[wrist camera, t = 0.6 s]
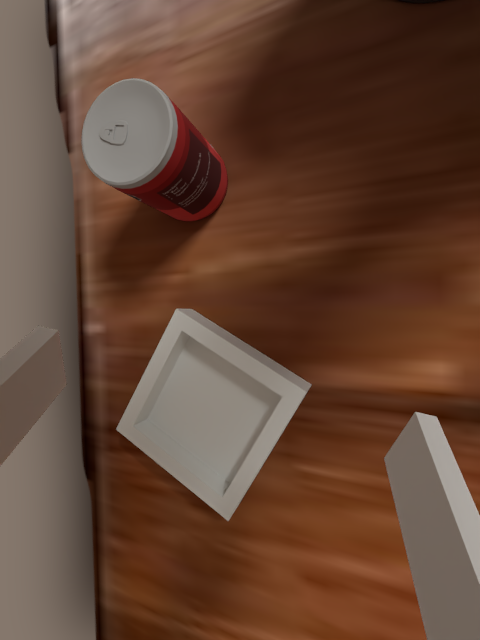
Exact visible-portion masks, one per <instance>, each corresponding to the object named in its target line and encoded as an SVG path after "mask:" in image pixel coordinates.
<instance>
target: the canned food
mask: <svg viewBox="0 0 480 640" xmlns="http://www.w3.org/2000/svg"><path fill="white" fill-rule="evenodd" d="M82 151H83V154H84V158H85V161H86V163H87V165H88V167H89V169H90V170H91V171H92V172H93V173H94V175H95V176H97V177H98V178H99V179H100V180H102V181H103V182H105V183H106V184H108V185H110V186H112V187H114V188H115V189H117V190H119V191H121V192H123V193H125V194H127V195H129V196H131V197H133V198H135V199H137V200H139V201H141V202H143V203H145V204H147V205H149V206H151V207H153V208H155V209H157V210H159V211H161V212H163V213H165V214H167V215H169V216H171V217H173V218H175V219H177V220H182V221H195V220H200V219H203V218H205V217H207V216H209V215H210V214H212V213H213V212H214V211H215V210H216V209H217V208H218V207H219V206H220V204H221V203H222V201H223V199H224V197H225V195H226V191H227V186H228V177H227V171H226V167H225V164H224V162H223V160H222V158H221V156H220V155H219V154H218V153H217V152H216V151H215V149H214V148H213V147H212V146H211V145H210V144H209V143H208V141H207V140H206V139H205V138H204V137H203V136H202V135H201V133H200V132H199V131H198V130H197V129H196V128H195V127H194V125H193V124H192V123H191V122H190V121H189V120H188V119H187V117H186V116H185V115H184V114H183V113H182V112H181V111H180V109H179V108H178V107H177V106H176V105H175V104H174V103H173V102H172V101H171V100H170V99H169V97H168V96H167V95H166V94H165V93H164V92H163V91H162V90H160V89H159V88H158V87H157V86H155V85H154V84H152V83H151V82H149V81H146V80H143V79H133V78H132V79H126V80H122V81H119V82H117V83H114V84H113V85H111V86H110V87H108V88H107V89H105V90H104V91H103V92H102V93H101V94H100V95H99V96H98V97H97V99H96V100H95V101H94V102H93V104H92V106H91V107H90V109H89V111H88V113H87V116H86V118H85V121H84V125H83V130H82Z"/></svg>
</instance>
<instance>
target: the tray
mask: <svg viewBox="0 0 480 640" xmlns="http://www.w3.org/2000/svg"><path fill="white" fill-rule="evenodd" d="M311 385H312V384H310V383H309V382H307V381H305V380H304V379H302V378H301V377H299V376H297V375H296V374H294V373H293V372H291V371H289V370H288V369H286V368H285V367H283V366H282V365H280V364H278V363H277V362H275V361H274V360H272V359H270V358H269V357H267V356H266V355H264V354H263V353H261V352H259V351H258V350H256V349H255V348H253V347H251V346H250V345H248V344H247V343H245V342H243V341H242V340H240V339H239V338H237V337H236V336H234V335H232V334H231V333H229V332H228V331H226V330H224V329H223V328H221V327H220V326H218V325H217V324H215V323H213V322H212V321H210V320H209V319H207V318H205V317H204V316H202V315H201V314H199V313H197V312H196V311H194V310H193V309H176V310H175V312H174V314H173V316H172V318H171V320H170V322H169V324H168V326H167V328H166V330H165V332H164V334H163V336H162V338H161V340H160V342H159V344H158V346H157V348H156V350H155V352H154V354H153V356H152V358H151V360H150V362H149V364H148V366H147V368H146V370H145V372H144V374H143V376H142V378H141V380H140V382H139V384H138V386H137V388H136V390H135V392H134V394H133V396H132V398H131V400H130V402H129V404H128V406H127V408H126V410H125V412H124V414H123V416H122V418H121V420H120V422H119V424H118V426H117V428H116V430H117V431H118V432H120V433H121V434H122V435H123V436H125V437H126V438H127V439H128V440H129V441H131V442H132V443H133V444H134V445H136V446H137V447H138V448H139V449H140V450H142V451H143V452H144V453H145V454H147V455H148V456H149V457H150V458H151V459H153V460H154V461H155V462H156V463H158V464H159V465H160V466H161V467H162V468H164V469H165V470H166V471H167V472H169V473H170V474H171V475H172V476H173V477H175V478H176V479H177V480H178V481H180V482H181V483H182V484H183V485H184V486H186V487H187V488H188V489H189V490H191V491H192V492H193V493H194V494H195V495H197V496H198V497H199V498H200V499H202V500H203V501H204V502H205V503H206V504H208V505H209V506H210V507H211V508H213V509H214V510H215V511H216V512H217V513H219V514H220V515H221V516H222V517H224V518H225V519H226V520H227V521H229V519H230V518H231V516H232V515H233V513H234V512H235V510H236V509H237V507H238V505H239V504H240V502H241V501H242V499H243V497H244V496H245V494H246V492H247V491H248V489H249V487H250V486H251V484H252V482H253V481H254V479H255V478H256V476H257V474H258V473H259V471H260V469H261V468H262V466H263V464H264V463H265V461H266V459H267V458H268V456H269V454H270V453H271V451H272V450H273V448H274V446H275V445H276V443H277V441H278V440H279V438H280V436H281V435H282V433H283V431H284V430H285V428H286V427H287V425H288V423H289V422H290V420H291V418H292V417H293V415H294V413H295V412H296V410H297V408H298V407H299V405H300V403H301V402H302V400H303V399H304V397H305V395H306V394H307V392H308V390H309V389H310V387H311Z"/></svg>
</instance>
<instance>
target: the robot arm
mask: <svg viewBox="0 0 480 640" xmlns="http://www.w3.org/2000/svg"><path fill="white" fill-rule="evenodd" d="M400 1H404V2H412V3H428V2H437V1H443V0H400ZM66 385H67V383H66V377H65V370H64V364H63V357H62V350H61V343H60V337H59V331H58V330H54V329H51V328H46V327H42V326H37V327H36V328H35V329H34V330H33V331H32V332H30V333H29V334H28V335H27V336H26V337H25V338H24V339H22V340H21V341H20V342H19V343H18V344H17V345H16V346H14V347H13V348H12V349H11V350H10V351H9V352H7V353H6V354H5V355H4V356H3V357H2V358H1V359H0V465H2V463H3V462H4V461H5V460H6V459H7V457H8V456H9V455H10V453H11V452H12V451H13V450H14V449H15V447H16V446H17V445H18V444H19V442H20V441H21V440H22V439H23V438H24V436H25V435H26V434H27V433H28V431H29V430H30V429H31V428H32V426H33V425H34V424H35V423H36V422H37V420H38V419H39V418H40V417H41V415H42V414H43V413H44V412H45V410H46V409H47V408H48V407H49V405H50V404H51V403H52V402H53V401H54V399H55V398H56V397H57V396H58V394H59V393H60V392H61V391H62V390H63V388H64V387H65V386H66ZM384 460H385V464H386V468H387V472H388V477H389V481H390V485H391V489H392V493H393V498H394V502H395V506H396V510H397V514H398V519H399V523H400V527H401V531H402V535H403V540H404V544H405V548H406V552H407V556H408V561H409V565H410V569H411V573H412V577H413V582H414V586H415V590H416V594H417V598H418V603H419V607H420V611H421V615H422V619H423V624H424V628H425V632H426V636H427V640H480V515H479V513H478V511H477V508H476V506H475V504H474V502H473V499H472V497H471V495H470V492H469V490H468V488H467V485H466V483H465V481H464V479H463V476H462V474H461V472H460V469H459V467H458V465H457V462H456V460H455V458H454V456H453V453H452V451H451V449H450V446H449V444H448V442H447V439H446V437H445V435H444V432H443V430H442V428H441V426H440V423H439V421H438V419H437V417H436V416H431V415H427V414H422V413H418V412H415V413H414V414H413V416H412V417H411V419H410V420H409V422H408V423H407V425H406V426H405V428H404V429H403V431H402V432H401V434H400V435H399V437H398V438H397V440H396V441H395V443H394V444H393V446H392V447H391V449H390V450H389V452H388V453H387V455H386V456H385V458H384Z"/></svg>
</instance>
